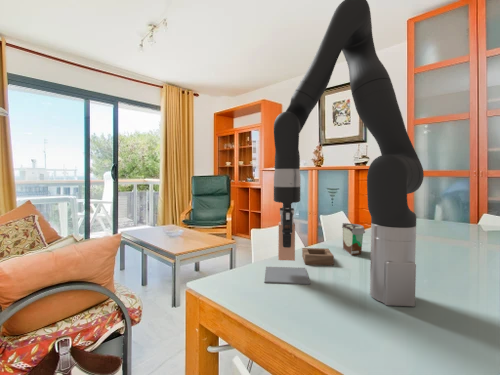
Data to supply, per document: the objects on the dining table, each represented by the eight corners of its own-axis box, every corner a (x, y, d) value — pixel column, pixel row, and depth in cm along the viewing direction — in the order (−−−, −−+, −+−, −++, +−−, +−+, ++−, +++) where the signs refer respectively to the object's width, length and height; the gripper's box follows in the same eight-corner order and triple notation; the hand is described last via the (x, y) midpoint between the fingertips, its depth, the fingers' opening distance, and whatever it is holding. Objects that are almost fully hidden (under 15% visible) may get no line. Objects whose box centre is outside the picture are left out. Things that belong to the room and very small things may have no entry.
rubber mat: (310, 284, 71) (310, 282, 71) (264, 282, 72) (264, 281, 72) (305, 269, 83) (305, 267, 83) (265, 267, 84) (265, 266, 84)
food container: (370, 256, 96) (370, 228, 95) (352, 256, 96) (353, 228, 95) (357, 247, 108) (357, 223, 108) (341, 247, 108) (342, 222, 108)
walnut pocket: (333, 265, 86) (333, 255, 86) (305, 264, 87) (305, 255, 87) (328, 257, 95) (328, 248, 95) (302, 256, 96) (302, 247, 96)
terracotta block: (294, 260, 75) (295, 224, 75) (278, 260, 75) (278, 224, 75) (293, 255, 79) (294, 222, 79) (278, 255, 80) (278, 221, 79)
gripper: (302, 186, 69) (302, 252, 70) (298, 184, 83) (297, 239, 84) (273, 186, 70) (273, 251, 71) (273, 184, 84) (273, 238, 85)
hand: (286, 244), depth 77 cm, fingers closed on terracotta block, 4 cm apart
